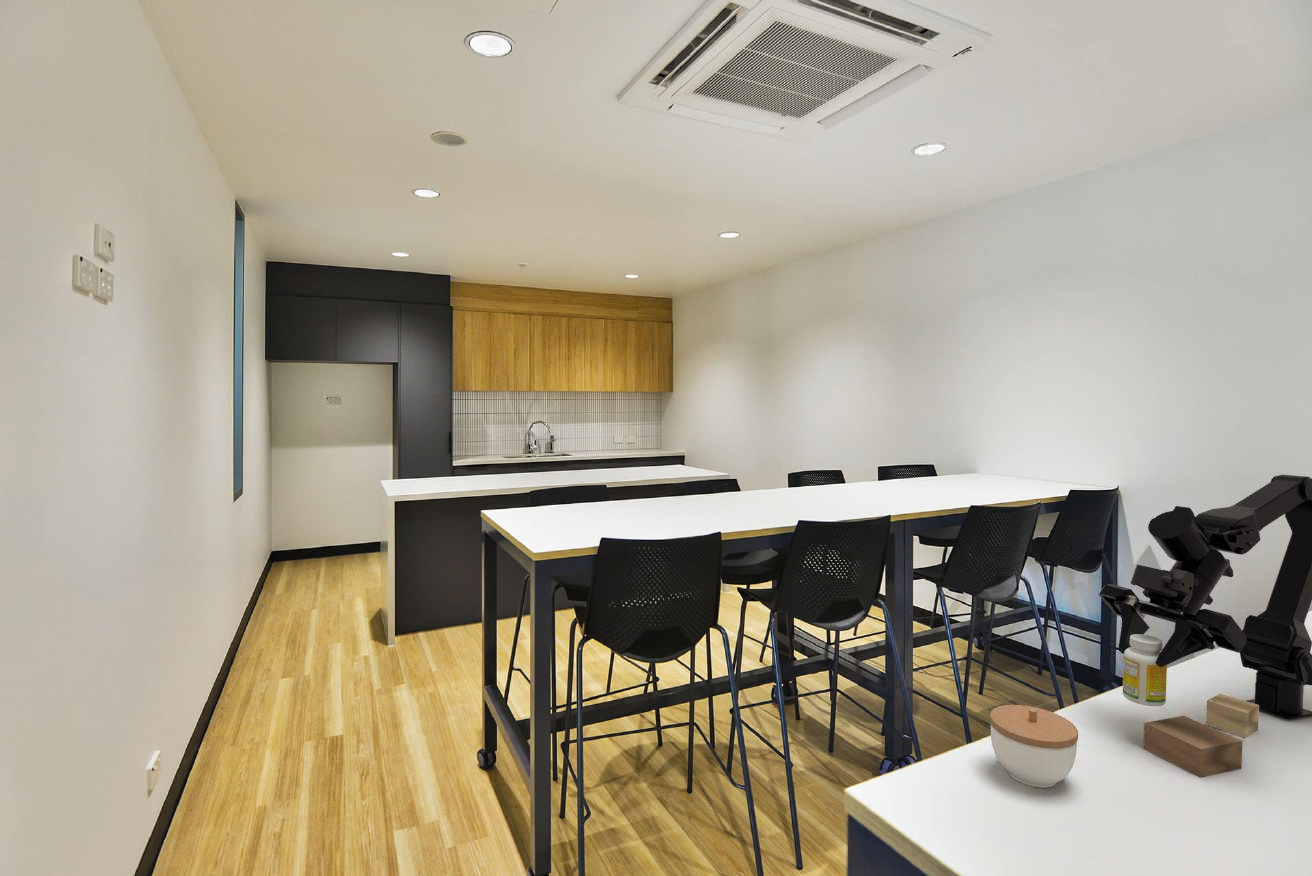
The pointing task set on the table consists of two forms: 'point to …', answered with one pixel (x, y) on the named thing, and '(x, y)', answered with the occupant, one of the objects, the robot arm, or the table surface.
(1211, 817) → the table surface
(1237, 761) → the walnut block
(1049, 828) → the table surface
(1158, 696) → the supplement bottle
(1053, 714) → the lidded jar
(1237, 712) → the oak block
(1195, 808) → the table surface
